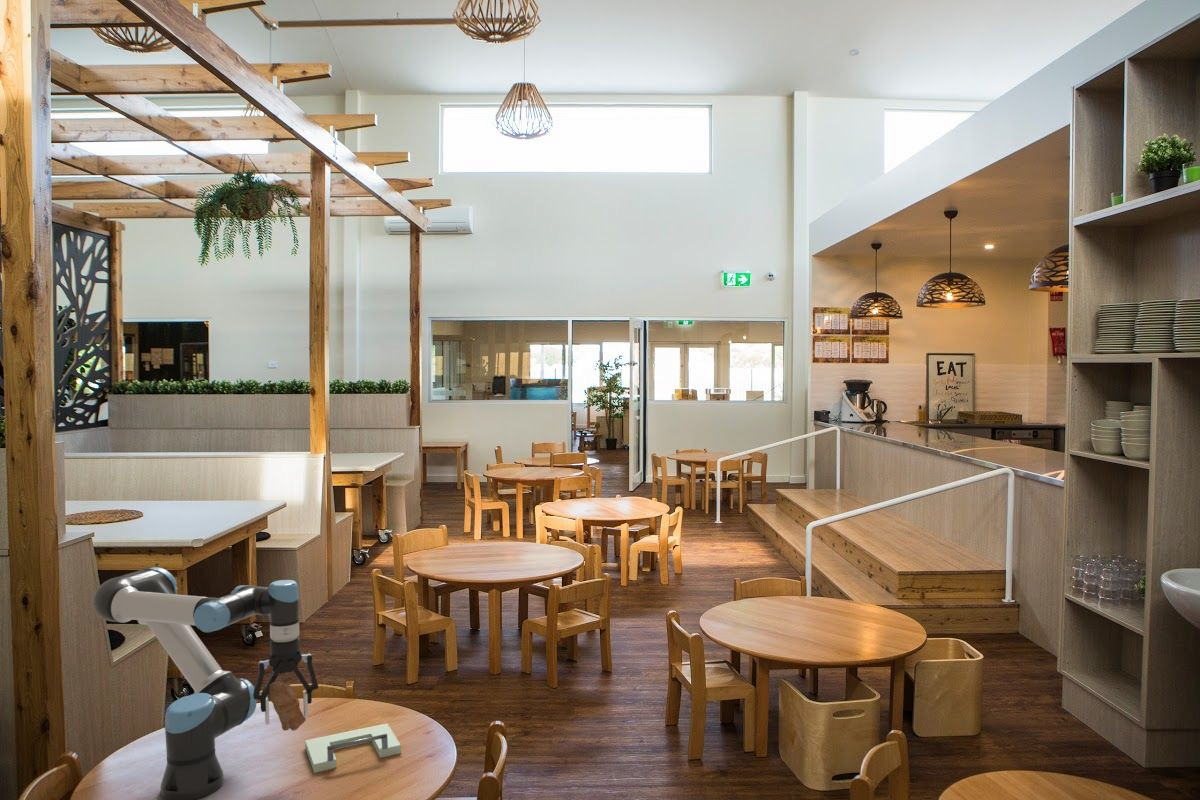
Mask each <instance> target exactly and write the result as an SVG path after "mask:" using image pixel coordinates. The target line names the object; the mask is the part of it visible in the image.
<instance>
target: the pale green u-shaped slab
mask: <svg viewBox="0 0 1200 800" xmlns="http://www.w3.org/2000/svg"><path fill="white" fill-rule="evenodd" d="M383 734H387V738H388V748H386V749H382V739H377V740H373V741H368V742H363V743H359V744H354V745H350V746H345V747H340V748H336V749H335V750H339V749H343V748H347V747H353V746H357V745H361V744H365V743H372V746H373V747H374V749H375V750H376V753H377V755H378V756H379V758H380V759H382V758H386V757H389V756H394V755H399V754H402V745H401V743H400V741H399V740H398V738H397V737H396V734H395V733H394V731H393V730H392V729H391V727H390V725H389V723H388V722H386V723H382V724H378V725H373V726H367V727H362V728H358V729H354V730H349V731H344V732H339V733H334V734H330V735H325V736H320V737H314V738H311V739H305V741H304V744H305V745H304V746H305V747H304V748H305V750H306V753H307V757H308V759H309V762H310V765H311V767H312V770H313V773H314V774H316V773H318V772H319V773H320V772H324V770H325V771H329V770H332V768H333V769H336V768H335V767H337V766H338V765H337V764H338V763H337V758H336V755H335V753H334V752H333V759H334V760H332V761H328V759H327V746H332V745H336V744H341V743H346V742H350V741H355V740H360V739H364V738H369V737H374V736H378V735H383ZM328 769H329V770H328Z"/></svg>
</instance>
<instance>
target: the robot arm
mask: <svg viewBox="0 0 1200 800" xmlns="http://www.w3.org/2000/svg"><path fill="white" fill-rule="evenodd" d="M176 586H178V585H177V581H176V578H175V577H174V576H173V574H172V573H171V572H169V571H168V570H167V569H165V568H162V567H155V566H154V567H147V568H143V569H139V570H137V571H134V572H131V573H127V574H123V575H119V576H116V577H113V578H109V579H108V580H106V581H104V582H103V583H102V584H100V585H99V587H98V588H97V589H96V591H95V592H94V595H93V597H92V607H93V610H94V612H95V613H96V615H97V616H99V618H101V619H102V620H105V621H108V622H113V623H123V624H124V623H127V622H130V621H132V620H134V621H135V620H136V621H137V623H138V624H139V625H144V626H147V627H148V628H149V629H150V631H151V632H152V634H153V635H154V636H155V638H156V639H157V640H158V641H159V643H160V645H161V646H162V648H163V649H164V651H165V652H166V653H167V654H168V656H169V657H170V658H171V660H172V661H173V663H174V664H175V666H176V667H177V668H178V670H179V671H180V673H181V674H182V675H183V677H184V678H185V680H186V681H187V682H188V684H189V685H190V687H191V689H193V691H194V692H193V693H192V694H190V695H185V696H182V697H180V698H178V699H176V700H175V701H173V702H172V703H171V704H170V705H169V706H168V707H167V709H166V712H165V717H164V718H165V720H164V730H165V731H164V732H165V746H166V748H165V749H166V751H165V752H166V765H165V769H164V773H163V776H162V779H161V782H160V797H161V798H162V799H164V800H197V799H200V798H203V797H207V796H209V795H211V794H213V793H215V792H216V791H217V790H219V789H220V788H221V787H222V786H223V784H224V771H223V768H222V767H221V765H220V764H221V763H220V762H219V759H218V757H217V754H216V741H215V740H216V738H218V737H220V736H221V735H224V734H225V733H227V732H229V731H230V730H232V729H234V728H236V727H238V726H241V725H242V724H243V723H244V722H246V721H247V720H249V718H251V717H252V716H253V714H254V713H255V711H256V709H257V701H258V700H259V701H260V711H261V712H262V713H265V715H264V719H265V720H264V721H265V724H266V725H270V701H269V699H268V694H269V686H270V684H271V683H273V682H275V681H276V679H277V678H278V677H279V675H281V674H284V673H292V672H294V674H295V675H296V676H297V678H298V680H299V681H300V683H301V684H302V686H303V687H304V689H305V690H303V691H302V692H303V695H302V698H303V702H302V703H303V716H304V717H305V718H308V717H309V711H308V710H309V708H308V707H309V704H312V702H313V701H312V697H313V696H312V693H313V691H314V690H318V689H319V684H318V681H317V677H316V674H315V670H314V668H313V667H314V666H313V663H312V662H313V656H312V654H311V653H310V652H307V653H306V654H302V653H301V650H300V649H301V648H300V647H301V646H300V645H301V644H300V641H301V640H300V639H301V638H300V637H299V636H300V616H299V614H300V613H299V612H300V611H299V610H300V607H299V606H300V595H299V594H300V593H299V586H298V583H297V581H295V580H292V579H280V580H275V581H272V582H271V583H270V584H269V586H267V587H266V586H258V585H250V584H247V585H238V586H236V587H235V588H234V589H233V590H232V591H231V592H230V594H227V595H224V596H222V597H210V596H209V597H208V596H201V595H200V596H198V595H187V594H178V587H176ZM255 615H258V616H265V617H267V616H269V638H270V639H271V640H270V645H269V646H270V648H269V649H270V656H269V658H268V659H266V660H261V659H260V660H259V661H257V663H258V671H257V677H256V681H255V686H254V685H253V684H252V682H250V681H249V680H248V679H244V678H240V677H239V678H236V677H235V675H234V674H233V673H232V671H229V670H223V669H222V667H221V665H220V664H219V663H218V662H217V661H216V659H215V658H214V656H213V655H212V654H211V652H210V651H209V650H208V648H207V646H205V644H204V643H203V641H202V640H201V639H200V637H199V636H198V634H197V633H196V632H195V630H194V629H193V627H192V626H194V627H195V626H196V628H197V629H198V630H200V631H201V632H204V633H212V632H215V631H220V630H221V629H223V628H225V627H228V626H230V625H233V624H235V623H237V622H240V621H242V620H244V619H248V618H249V617H252V616H255ZM301 660H303V662H304V663H306V667H307V671H308V674H309V678H310V681H311V684H309V682H308V680H307V679H306V678H305V676H304V674H303V673H302V671H301V669H300V668H299V666H298V665H299V663H300V662H301ZM268 666H271V668H272V670H271V673H270V675H269V676H268V679H267V681H266V683H265V685H264V687H263V689H262V685H263V682H264V681H263V680H264V676H265V671H266V670H267V668H268ZM261 689H262V691H261Z"/></svg>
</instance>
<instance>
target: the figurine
mask: <svg viewBox="0 0 1200 800" xmlns="http://www.w3.org/2000/svg"><path fill="white" fill-rule="evenodd" d="M297 695H298V693H297V691H296V689H295V688H294V687H293V686H292V685H290V684H289V683H287V682H283V681H280V680H277V681H276V680H275V681H274V682H273V683H271V684H270V686H269V694H268V696H267V697H268V699H269V700H270V702H271V703H272V705H273V708H274V710H275V712H276V714H277V716H278V719H279V721H280V723H281V730H282V731H285V732H286V731H288V730H291V731H292V732H293V731H296V730H298V729H299V728H300V727H301V726H302V725H304V723H305V722H306V720H307V719H306V717H305V716H304V713H302V710H301V708H300V700H299V698H297Z"/></svg>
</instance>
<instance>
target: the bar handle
mask: <svg viewBox="0 0 1200 800" xmlns="http://www.w3.org/2000/svg"><path fill="white" fill-rule="evenodd" d="M377 739H382V749H386V748H388V738H387V734H383V735H378V736H374V737H369V738H364V739H360V740H355V741H350V742H346V743H341V744H336V745H332V746H327V759H328V761H332V760H334V759H333V753H334V750H333V749H335V750H337V749H336V748H339V749H341V748H340V747H344V748H346V747H345V746H349V747H351V746H350V745H353V746H355V745H354V744H358V745H360V744H359V743H362V744H364V743H363V742H367V743H369V742H368V741H373V740H377Z"/></svg>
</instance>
